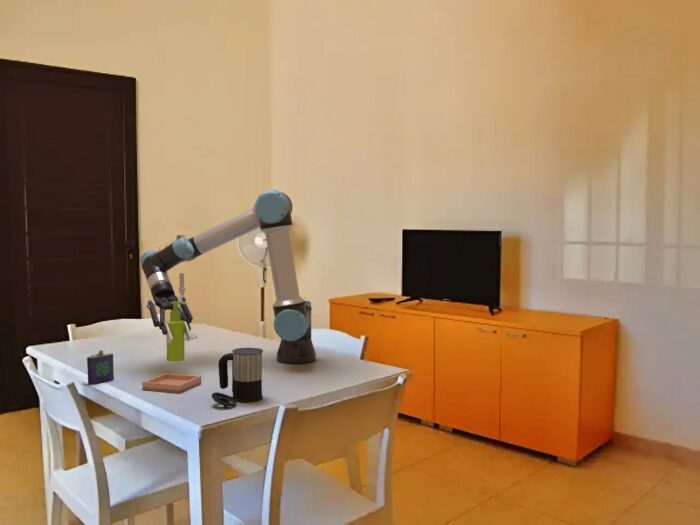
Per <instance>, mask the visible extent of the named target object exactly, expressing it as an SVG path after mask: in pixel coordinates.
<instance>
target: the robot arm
mask: <svg viewBox="0 0 700 525" xmlns="http://www.w3.org/2000/svg"><path fill="white" fill-rule="evenodd" d="M292 212H293V203H292V200H291V198H290V197H289V196H288V195H287V193H284V192H282V191H280V190H277V189H269V190H266V191H265V190H264V191H263V192H262V193H261V194H260V195H259V196H258V197H257V198H256V200H255V203H254V205H253V206H252V208H251V209H249V210H246V211H245V212H243V213H241V214H239V215H236V216H234V217H231V219H228V220H226V221H224V222H221V223H220V224H217V225H215V226H213V227H211V228H209V229H207V230H205V231H203V232H201V233H199V234H197V235H195V236H192V237H189V238H186V237H184V236H182V237H179V238H178V239H175V240H174V241H172V242H171V243H170V244H169V245H167V246H165V247H164V248H163V249H161V250H159V251H157V250H149V251H145V252H144V253H142V255H141V256H140V258H139V261H140V265H141V269H142V271H143V275H144V277H145V279H146V284H148V288H149V290H150V293H151V296H152V299H153V300H151V299H149V300H148V301H147V304H146V307H147V308H148V310H149V313H150V317H151V320H152V324H153V327H154V328H159V330H160V331H161V333H162V335H163V336H165V337H166V341H167V340H168V343H169V344H171V342H172V340H173V337H172V334H171V332H170V329H169V326H168V324H167V322H166V311H167V310H170V312H171V311H172V310H173V304H170V302H175V301H182V302H186V303H187V301H186V300H187V299H186V297H185V296H184V297H183V298H182V299H180V297H179V298H178V296H176V294H175V290H174V287H173V284H172V282H171V280H170V277H169V274H168V273H167V272H168V271H169V270H171V269H173V268H174V267H176V266H177V265H179V264H181V263H184V262H190V261H193V260H195V259H197V258H198V257H200V256H202V255H204V254H206V253H209V252H210V251H212V250H215V249H216V248H219V247H221V246H223V245H226V244H228V243H230V242H231V241H234V240H236V239H238V238H240V237H242V236H244V235H247V234H248V233H251V232H253V231H255V230H257V229H259V228H260V231H261V232H262V233H263V234H264V235H265V239H266V247H267V253H268V258H269V259H268V260H269V264H270V270H271V276H272V282H273V289H274V297H275V301H274V302H273V304H272V308H273V309H272V310H273V318H274V319H273V328H274V331H275V334H276V335H277V337H279V338H280V343H279V345H278V349H277V352H276V361H277V362H279V363H281V364H289V365H290V364H292V365H293V364H294V365H297V364H309V363H313V362H315V361H316V360H317V353H316V349H315V346H314V344H313V340H312V310H313V307H312V302H311V301H310V300H305V299H304V298H303V297H301V295H300V291H299V285H298V278H297V272H296V265H295V260H294V253H293V248H292V240H291V234H290V230H291V228H293V226H294V225H293V219H292ZM179 305H181V309H182V311H183V312H182V311H181V309H180V308H179ZM156 307H158V308H159V317H158V313H157V309H156ZM178 310H179V311H180V312H181V321H184V333H185V336H186V338H187V340H186V342H190V341H191V340H190V339H191V337H192V335H191V333H192V332H191V330H192V326H191V325H190V324H191V323H192V321H193V319H194V317H193V315H192V313H191V311H190V309H189V307H188V303H187V304H185V305H183V304H178Z"/></svg>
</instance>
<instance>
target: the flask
mask: <svg viewBox="0 0 700 525" xmlns="http://www.w3.org/2000/svg"><path fill="white" fill-rule="evenodd" d="M86 361H87V362H86V364H87V385H89V386H90V385H97V384H102V383H107V382H110V381H113V379H115V374H114V353H112V352H108V353H104V350H102V349H99V352H98V353H97V354H94V355H93V354H91V355H90V356H87V357H86Z"/></svg>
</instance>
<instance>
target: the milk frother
mask: <svg viewBox="0 0 700 525" xmlns="http://www.w3.org/2000/svg"><path fill="white" fill-rule="evenodd" d="M231 351H232V352H228V353H226V354H224V355H222V356H221V357H220V358H219V360H218V378H219V379H218V380H219V388H220V389H221V390H225V389H227V388H228V387H229V371H228V370H229V367H228V362H229V361H232V362H231V363H232V366H231V367H232V368H231V369H232V371H231V372H232V373H231V377H232V378H231V393H232V395H231V396H230V395H228V394H225V393H221V392H219V391H218V392H212V394H211V398H212V400H213V401H214V402H215V403H217V404H218V405H220V406H223V408H226V407H235V406H236V405H237V402H240V403H254V402H258V401H261V400H262V399H263V398H264V396H263V385H262V384H263V377H262V376H263V353H264V349H262V348H259V347H239V348H238V347H236V348H234V349H232V350H231Z"/></svg>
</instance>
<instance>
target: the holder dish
mask: <svg viewBox="0 0 700 525" xmlns="http://www.w3.org/2000/svg"><path fill="white" fill-rule="evenodd" d="M199 385H200V386H201V385H202V376H201V375H190V374H179V373H169V372H165V373H163V374H160V375H157V376H155V377H153V378H150V379H147V380H144V381H142V390H143V391H150V392H160V393H168V394H169V393H170V394H182V393H184V392H186V391H189V390H191V389H193V388H195V386H196V387H198V386H199Z"/></svg>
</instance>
